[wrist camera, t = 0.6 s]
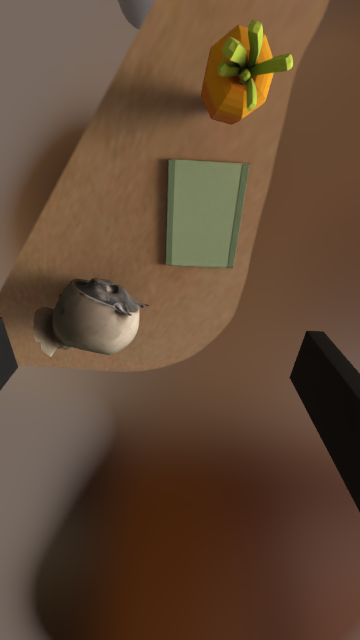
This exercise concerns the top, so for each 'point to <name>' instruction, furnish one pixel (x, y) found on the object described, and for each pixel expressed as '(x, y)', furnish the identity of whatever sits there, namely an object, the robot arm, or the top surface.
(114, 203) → the top surface
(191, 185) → the tray
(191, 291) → the top surface
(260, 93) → the carrot
